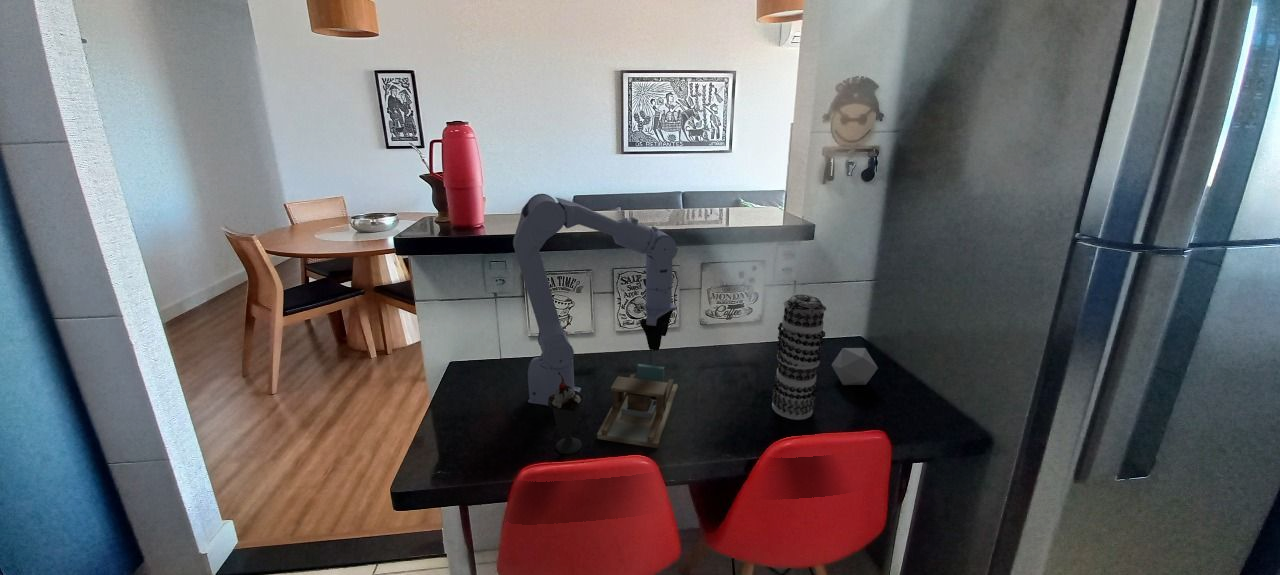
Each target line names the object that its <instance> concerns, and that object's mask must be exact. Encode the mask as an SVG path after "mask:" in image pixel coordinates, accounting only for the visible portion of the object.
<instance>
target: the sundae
mask: <svg viewBox="0 0 1280 575" xmlns="http://www.w3.org/2000/svg"><path fill="white" fill-rule="evenodd" d="M558 374H559V375H560V372H558ZM560 376H561V375H560ZM561 377H562V376H561ZM583 395H584V394H582V393H581V392H577V391H574V390H573V389H572V388H571V387H569V386H566V383H564V379H563V377H562V383H560V385H559V389H558V390H557V391H556V393H555V394H553V395H551V396H550V397H549V398H548V405H547V406H548V407H549V408H550V409H552V410H553V415H554V420H555V424H556V426H557V428H558V430H560V431H561V432H564V436H565V437H564V438H561V439H560V440H559V441H558V442H557V443H556V444H555V449H556V451H557V452H558V453H560V454H563V455H572V454H576V453H577V452H579V451H580V450H581V449H582V447H583V443H582V441H581V440H580V439H579V438H576V437H573V435H572V432H573V431H575V429H576V428H577V427H578V426H579V422H580V414H581V407H582V405H583V404H584V402H585V400H586V398H585V396H583Z"/></svg>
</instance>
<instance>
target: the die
mask: <svg viewBox="0 0 1280 575" xmlns="http://www.w3.org/2000/svg"><path fill="white" fill-rule="evenodd" d="M831 367H832V368H833V371H834V372H835V374H836V375H837V377H838V379H839V380H840V382H841V385H843V386H866V385H867V383H868V382H869V381H870V380H871V378H872V376H874V374H875V373H876V372H877V370H878V369H879V367H878V366H877V364H876V362H875V361H874V359H873V358H872V357H871V354H870V353H869V351H868V350H867V348H866V347H842V348H841V350H840V352H839V353H838V354H837V356H836V357H835V359H834V361H833V362H832V363H831Z"/></svg>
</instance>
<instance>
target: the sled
mask: <svg viewBox="0 0 1280 575" xmlns="http://www.w3.org/2000/svg"><path fill="white" fill-rule="evenodd" d="M636 366H637V368H636V370H637V372H636V374H637V375H636V376H637V377H636V379H643V380H651V381H659V382H665V366H660V365H659V366H658V365H651V364H644V363H642V364H641V363H638V364H637V365H636ZM655 409H656V400H652V399H651V405H650V407H649V410H648V412H644V411H637V410H630V409H628V400H627V402H626V404H625V406H624V408H622V409H621V414H622V415H629V416H636V417H642V418H649V419H652V417H653V415H654V412H655Z"/></svg>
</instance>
